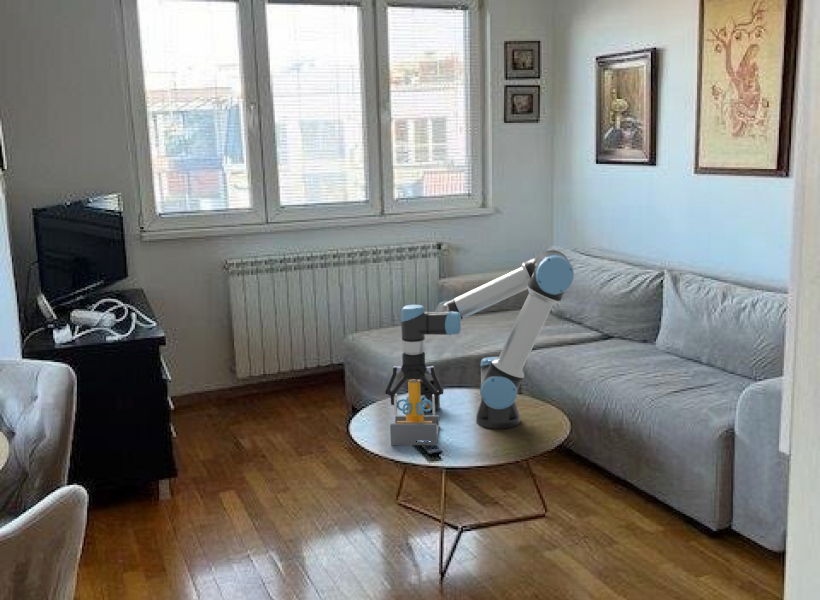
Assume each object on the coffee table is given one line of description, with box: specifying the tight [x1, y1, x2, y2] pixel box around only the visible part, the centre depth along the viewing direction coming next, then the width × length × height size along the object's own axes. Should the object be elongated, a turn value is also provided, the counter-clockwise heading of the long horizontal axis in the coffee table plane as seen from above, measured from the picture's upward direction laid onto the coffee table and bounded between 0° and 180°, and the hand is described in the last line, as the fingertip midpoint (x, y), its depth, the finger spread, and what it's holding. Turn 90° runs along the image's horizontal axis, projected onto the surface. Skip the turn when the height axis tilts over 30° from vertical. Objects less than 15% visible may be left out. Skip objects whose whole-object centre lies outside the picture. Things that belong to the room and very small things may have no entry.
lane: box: [389, 414, 440, 446], centre depth 283 cm, size 15×18×7 cm
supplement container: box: [419, 373, 441, 414], centre depth 309 cm, size 10×10×12 cm
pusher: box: [397, 421, 432, 423], centre depth 279 cm, size 12×1×6 cm, turn 86°
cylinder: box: [397, 379, 432, 421], centre depth 282 cm, size 12×10×15 cm
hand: (414, 414), depth 283 cm, fingers closed on cylinder, 12 cm apart
